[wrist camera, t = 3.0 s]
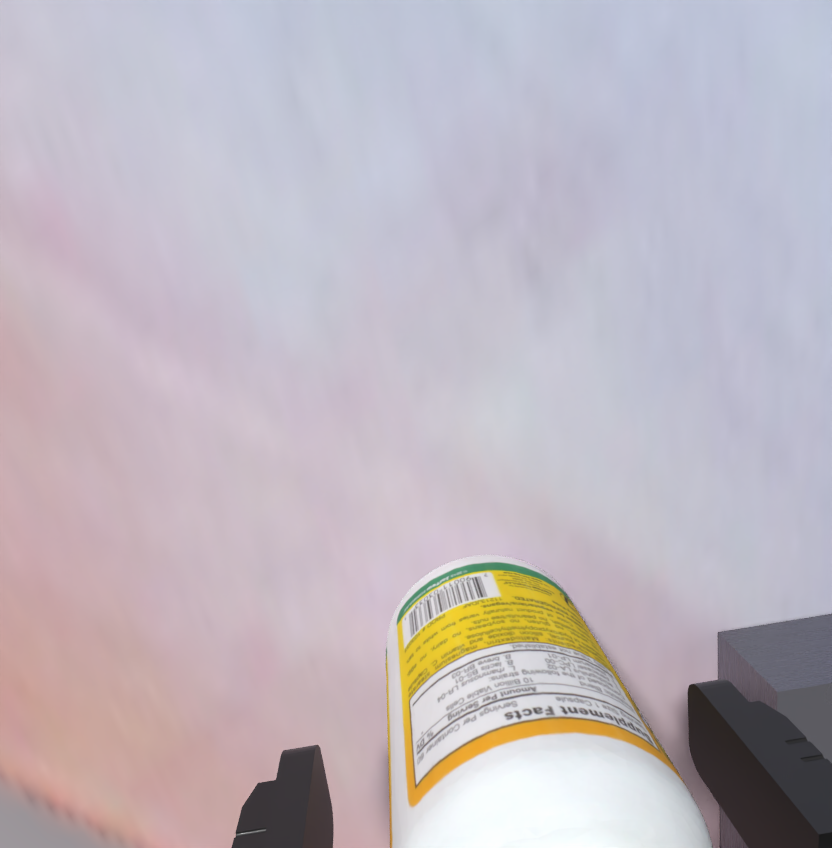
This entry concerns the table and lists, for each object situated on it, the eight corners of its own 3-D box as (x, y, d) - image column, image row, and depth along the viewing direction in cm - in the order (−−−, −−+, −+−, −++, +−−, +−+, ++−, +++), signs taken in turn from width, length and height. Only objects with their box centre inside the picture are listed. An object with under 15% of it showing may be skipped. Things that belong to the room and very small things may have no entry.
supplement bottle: (423, 523, 15) (499, 902, 6) (606, 580, 16) (936, 997, 6) (358, 695, 16) (333, 1252, 7) (532, 740, 17) (726, 1297, 8)
